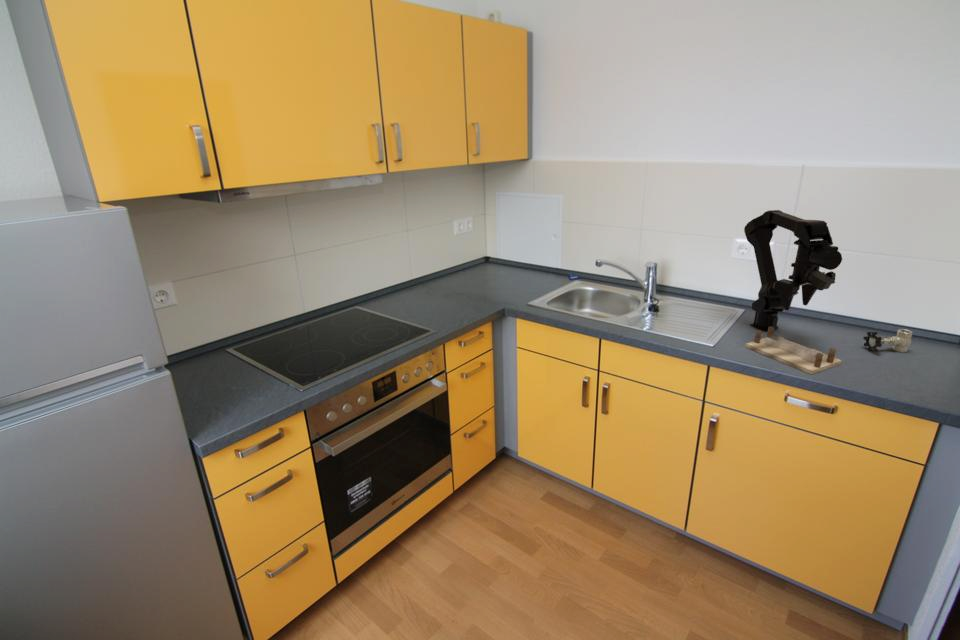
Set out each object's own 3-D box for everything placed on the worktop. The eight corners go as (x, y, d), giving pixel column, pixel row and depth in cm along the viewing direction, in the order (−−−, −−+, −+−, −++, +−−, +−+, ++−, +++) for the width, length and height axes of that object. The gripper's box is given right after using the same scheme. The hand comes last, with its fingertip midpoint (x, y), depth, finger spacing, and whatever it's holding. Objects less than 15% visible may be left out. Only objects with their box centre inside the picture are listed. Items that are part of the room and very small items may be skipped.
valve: (898, 345, 162) (860, 346, 162) (903, 326, 159) (865, 328, 159) (914, 354, 155) (875, 355, 156) (920, 335, 153) (881, 336, 153)
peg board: (744, 346, 164) (747, 332, 162) (773, 338, 170) (776, 324, 168) (811, 374, 146) (815, 358, 144) (840, 363, 151) (844, 348, 149)
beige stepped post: (765, 343, 163) (766, 336, 162) (773, 341, 164) (774, 334, 164) (812, 362, 150) (814, 355, 149) (820, 359, 151) (822, 352, 150)
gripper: (812, 271, 146) (801, 321, 152) (851, 262, 154) (839, 310, 159) (776, 263, 156) (767, 309, 161) (814, 254, 163) (804, 299, 169)
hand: (795, 307), depth 163 cm, fingers open, 9 cm apart
